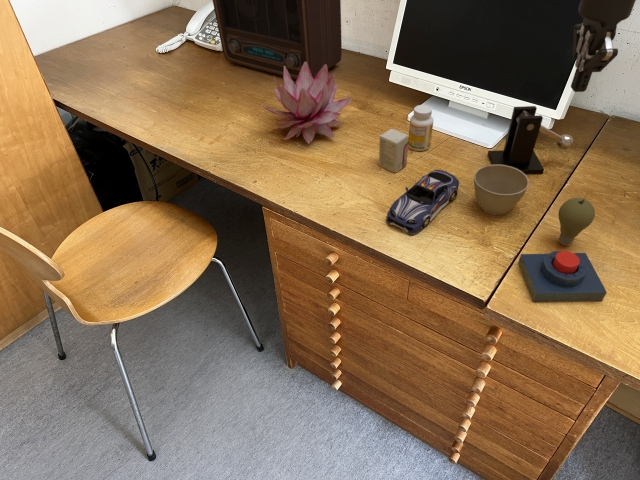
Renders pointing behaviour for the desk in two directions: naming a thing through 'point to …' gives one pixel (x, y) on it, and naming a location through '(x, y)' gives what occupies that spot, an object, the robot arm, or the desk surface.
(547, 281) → the control block
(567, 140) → the grey rod with ball
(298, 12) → the radio
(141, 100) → the desk surface
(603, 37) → the robot arm
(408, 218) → the toy car
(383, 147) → the small box
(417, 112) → the supplement bottle
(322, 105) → the decorative flower
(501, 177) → the beige bowl
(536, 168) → the black lever stand
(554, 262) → the button
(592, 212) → the light bulb
